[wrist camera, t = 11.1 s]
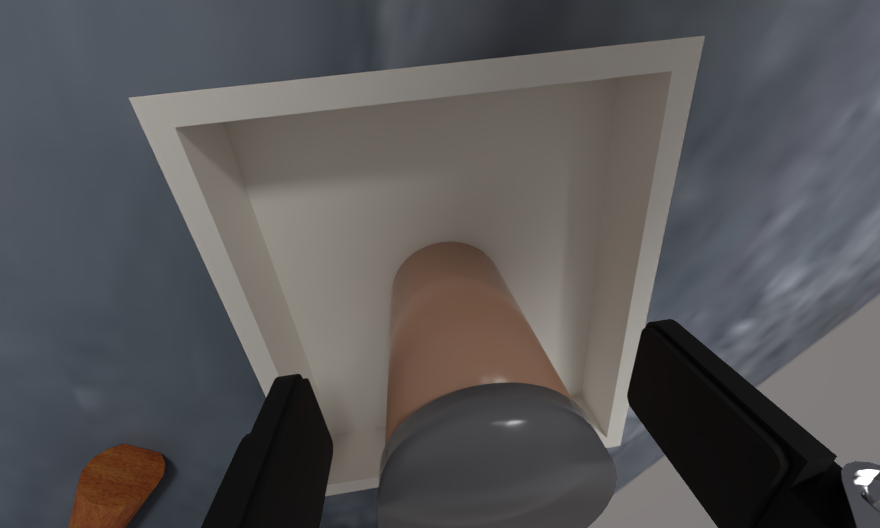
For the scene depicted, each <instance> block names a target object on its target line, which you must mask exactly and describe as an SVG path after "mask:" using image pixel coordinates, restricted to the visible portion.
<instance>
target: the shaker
mask: <svg viewBox="0 0 880 528" xmlns="http://www.w3.org/2000/svg"><path fill="white" fill-rule="evenodd" d="M615 486H616V468H615V465H614V463H613V460H612V458H611V456H610V455H609V453H608V451H607V449H606V448H605V446H604V444H603V443H602V441H601V439H600V438H599V436H598V434H597V432H596V431H595V429H594V427H593V426H592V424H591V422H590V421H589V419H588V417H587V416H586V414H585V413H584V411H583V410H582V409H581V408H580V407H579V406H578V404H577V403H575V402H574V401H573V400H572V398H571V396H570V395H569V393H568V391H567V389H566V388H565V386H564V384H563V382H562V381H561V379H560V377H559V375H558V374H557V372H556V370H555V368H554V367H553V365H552V363H551V361H550V360H549V358H548V356H547V354H546V353H545V351H544V349H543V347H542V346H541V344H540V342H539V340H538V339H537V337H536V335H535V333H534V332H533V330H532V328H531V326H530V325H529V323H528V321H527V320H526V318H525V316H524V314H523V313H522V311H521V309H520V307H519V306H518V304H517V302H516V300H515V299H514V297H513V295H512V293H511V292H510V290H509V288H508V286H507V285H506V283H505V281H504V279H503V278H502V276H501V274H500V272H499V271H498V269H497V267H496V266H495V264H494V262H493V261H492V260H491V259H490V258H489V256H487V255H486V254H485V253H484V252H482V251H481V250H479V249H478V248H476V247H473V246H471V245H468V244H465V243H459V242H441V243H436V244H432V245H429V246H426V247H424V248H422V249H420V250H418V251H417V252H415V253H413V254H412V255H411V256H410V257H409V258H407V259H406V261H405V262H404V263H403V264H402V265H401V267H400V268H399V269H398V271H397V273H396V275H395V278H394V281H393V285H392V298H391V321H390V344H389V367H388V390H387V413H386V436H385V447H384V450H383V452H382V456H381V460H380V470H379V488H378V506H377V522H378V526H379V528H587V527H588V526H590V525H591V524H592V523H593V522H594V521H595V520H596V519H597V518H598V517H599V515H601V513H602V512H603V511H604V509H605V508H606V506H607V505H608V503H609V501H610V499H611V498H612V496H613V492H614V489H615Z"/></svg>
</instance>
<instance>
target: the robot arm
mask: <svg viewBox="0 0 880 528" xmlns="http://www.w3.org/2000/svg"><path fill="white" fill-rule="evenodd" d="M627 399H628V403H629V405H630V407H631V408H632V410H633V411H634V412H635V414H636V415H637V417H638V418H639V419H640V421H641V422H642V423H643V425H644V426H645V428H646V429H647V430H648V432H649V433H650V435H651V436H652V437H653V439H654V440H655V441H656V443H657V444H658V446H659V447H660V448H661V450H662V451H663V452H664V454H665V455H666V457H667V458H668V459H669V461H670V462H671V463H672V465H673V466H674V468H675V469H676V470H677V472H678V473H679V474H680V476H681V477H682V479H683V480H684V481H685V482H686V484H687V485H688V487H689V488H690V490H691V491H692V492H693V494H694V495H695V497H696V498H697V499H698V500H699V502H700V503H701V505H702V506H703V507H704V509H705V510H706V512H707V513H708V514H709V516H710V517H711V519H712V520H713V521H714V523H715V524H716V525H717V527H718V528H880V465H877V464H874V463H870V462H856V461H855V462H852V463H848V464H846V465H845V466H844V467H843V468H842V467H840V466H839V465H838V464H837V463H836V462H834V460H835V458H836V457H837V456H836V455H835V454H834V453H832V452H831V451H830V450H829V449H828V448H826V447H825V446H824V445H823V444H821V443H820V442H819V441H818V440H816V438H814V437H813V436H812V435H811V434H810V433H809V432H807V431H806V430H805V429H804V428H803V427H801V426H800V425H799V424H798V423H797V422H795V421H794V420H793V419H792V418H790V417H789V416H788V415H787V414H786V413H785V412H783V411H782V410H781V409H780V408H779V407H777V406H776V405H775V404H774V403H773V402H772V401H770V400H769V399H768V398H767V397H765V396H764V395H763V394H762V393H761V392H760V391H758V390H757V389H756V388H755V387H754V386H752V385H751V384H750V383H749V382H748V381H746V380H745V379H744V378H743V377H742V376H740V375H739V374H738V373H737V372H736V371H735V370H733V369H732V368H731V367H730V366H729V365H727V364H726V363H725V362H724V361H723V360H721V359H720V358H719V357H718V356H717V355H715V354H714V353H713V352H712V351H711V350H709V349H708V348H707V347H706V346H705V345H704V344H702V343H701V342H700V341H699V340H698V339H696V338H695V337H694V336H693V335H692V334H690V333H689V332H688V331H687V330H686V329H684V328H683V327H682V326H681V325H680V324H678V323H677V322H676V321H674V320H671V319H668V320H661V321H654V322H649V323H648V324H647V325H646V328H644V329H643V330H642V332H641V335H640V340H639V344H638V349H637V353H636V357H635V362H634V366H633V370H632V375H631V379H630V384H629V388H628V392H627ZM332 457H333V441H332V438H331V435H330V433H329V430H328V428H327V425H326V422H325V420H324V417H323V415H322V412H321V409H320V407H319V404H318V402H317V399H316V396H315V394H314V391H313V389H312V386H311V384H310V381H309V379H308V378H304V379H303V378H302V376H301V375H300V374H293V375H286V376H280V377H277V378H275V380H274V381H273V384H272V386H271V388H270V390H269V393H268V395H267V397H266V399H265V402H264V404H263V406H262V408H261V411H260V413H259V415H258V417H257V420H256V422H255V424H254V426H253V429H252V431H251V433H250V434H247V435H246V436H245V437H244V438H243V439H242V441H241V442H240V444H239V446H238V448H237V450H236V452H235V455H234V457H233V459H232V461H231V463H230V465H229V468H228V470H227V472H226V474H225V476H224V479H223V481H222V483H221V485H220V487H219V489H218V492H217V494H216V496H215V498H214V500H213V502H212V505H211V507H210V509H209V511H208V513H207V515H206V518H205V520H204V522H203V524H202V526H201V528H319V526H320V521H321V515H322V510H323V505H324V500H325V494H326V489H327V484H328V478H329V473H330V468H331V463H332Z"/></svg>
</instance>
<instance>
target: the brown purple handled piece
mask: <svg viewBox="0 0 880 528" xmlns="http://www.w3.org/2000/svg"><path fill="white" fill-rule="evenodd" d="M164 469H165V461H164V459H163V456H162V454H161V453H159V452H155V451H151V450H147V449H143V448H139V447H136V446H132V445H128V444H122V445H119V446H116V447H112V448H109V449H107V450H105V451H104V452H102V453H100V454H99V455H97V456H95V457H94V458H93V459H92V460H91V461H90V462H89V463H88V464H87V465H86V466H85V468H84V469H83V470H82V473H81V476H80V479H79V482H78V486H77V491H76V495H75V500H74V504H73V509H72V514H71V518H70V523H69V527H68V528H126V526H127V525H128V524H129V522H130V521H131V520H132V518H133V517H134V516H135V514H136V513H137V512H138V510H139V509H140V508H141V506H142V505H143V504H144V502H145V501H146V500H147V498H148V497H149V496H150V494H151V493H152V492H153V490H154V489H155V488H156V486H157V485H158V483H159V481H160V480H161V478H162V477H163V475H164Z"/></svg>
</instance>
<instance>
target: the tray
mask: <svg viewBox="0 0 880 528" xmlns="http://www.w3.org/2000/svg"><path fill="white" fill-rule="evenodd" d="M704 39H705V36H696V37H687V38H678V39H669V40H659V41H650V42H641V43H631V44H622V45H613V46H604V47H594V48H585V49H576V50H566V51H557V52H548V53H539V54H529V55H520V56H511V57H501V58H492V59H483V60H474V61H464V62H455V63H446V64H436V65H427V66H418V67H409V68H399V69H390V70H381V71H372V72H362V73H353V74H344V75H334V76H325V77H316V78H307V79H297V80H288V81H279V82H269V83H260V84H251V85H242V86H232V87H223V88H214V89H204V90H195V91H186V92H177V93H167V94H158V95H149V96H139V97H130V98H129V100H130V102H131V104H132V106H133V108H134V111H135V113H136V115H137V117H138V119H139V121H140V124H141V126H142V128H143V130H144V132H145V135H146V137H147V139H148V141H149V143H150V145H151V148H152V150H153V152H154V154H155V156H156V159H157V161H158V163H159V165H160V167H161V169H162V172H163V174H164V176H165V178H166V180H167V183H168V185H169V187H170V189H171V191H172V193H173V196H174V198H175V200H176V202H177V204H178V206H179V209H180V211H181V213H182V215H183V217H184V220H185V222H186V224H187V226H188V228H189V230H190V233H191V235H192V237H193V239H194V241H195V244H196V246H197V248H198V250H199V252H200V254H201V257H202V259H203V261H204V263H205V265H206V268H207V270H208V272H209V274H210V276H211V278H212V281H213V283H214V285H215V287H216V289H217V292H218V294H219V296H220V298H221V300H222V302H223V305H224V307H225V309H226V311H227V313H228V316H229V318H230V320H231V322H232V324H233V326H234V329H235V331H236V333H237V335H238V337H239V339H240V342H241V344H242V346H243V348H244V350H245V353H246V355H247V357H248V359H249V361H250V363H251V366H252V368H253V370H254V372H255V374H256V377H257V379H258V381H259V383H260V385H261V387H262V390H263V392H264V394H265V396H266V397H267V395H268V393H269V390H270V388H271V386H272V384H273V381H274V380H275V378H277V377H280V376H286V375H293V374H300V375H301V376H302V378H303V379H304V378H308V379H309V381H310V384H311V386H312V389H313V391H314V394H315V396H316V399H317V402H318V404H319V407H320V409H321V412H322V415H323V417H324V420H325V422H326V425H327V428H328V430H329V433H330V435H331V438H332V441H333V457H332V463H331V468H330V473H329V478H328V484H327V489H326V494H325V496H331V495H336V494H342V493H348V492H354V491H360V490H365V489H371V488H377V487H379V470H380V460H381V456H382V452H383V450H384V447H385V436H386V413H387V390H388V367H389V344H390V321H391V298H392V285H393V281H394V278H395V275H396V273H397V271H398V269H399V268H400V267H401V265H402V264H403V263H404V262H405V261H406V259H407V258H409V257H410V256H411V255H412V254H413V253H415V252H417V251H418V250H420V249H422V248H424V247H426V246H429V245H432V244H436V243H441V242H459V243H465V244H468V245H471V246H473V247H476V248H478V249H479V250H481V251H482V252H484V253H485V254H486V255H487V256H489V258H490V259H491V260H492V261H493V262H494V264H495V266H496V267H497V269H498V271H499V272H500V274H501V276H502V278H503V279H504V281H505V283H506V285H507V286H508V288H509V290H510V292H511V293H512V295H513V297H514V299H515V300H516V302H517V304H518V306H519V307H520V309H521V311H522V313H523V314H524V316H525V318H526V320H527V321H528V323H529V325H530V326H531V328H532V330H533V332H534V333H535V335H536V337H537V339H538V340H539V342H540V344H541V346H542V347H543V349H544V351H545V353H546V354H547V356H548V358H549V360H550V361H551V363H552V365H553V367H554V368H555V370H556V372H557V374H558V375H559V377H560V379H561V381H562V382H563V384H564V386H565V388H566V389H567V391H568V393H569V395H570V396H571V398H572V400H573V401H574V402H575V403H577V404H578V406H579V407H580V408H581V409H582V410H583V411H584V413H585V414H586V416H587V417H588V419H589V421H590V422H591V424H592V426H593V427H594V429H595V431H596V432H597V434H598V436H599V438H600V439H601V441H602V443H603V444H604V446H605V448H609V447H615V446H620V444H621V439H622V434H623V430H624V425H625V420H626V415H627V410H628V405H629V403H628V399H627V392H628V388H629V384H630V379H631V375H632V370H633V366H634V362H635V357H636V353H637V349H638V344H639V340H640V335H641V332H642V330H643V329H644V328H645V323H646V319H647V314H648V309H649V304H650V299H651V294H652V290H653V285H654V280H655V275H656V270H657V265H658V261H659V256H660V251H661V246H662V241H663V237H664V232H665V227H666V222H667V217H668V212H669V208H670V203H671V198H672V193H673V188H674V183H675V179H676V174H677V169H678V164H679V159H680V154H681V150H682V145H683V140H684V135H685V130H686V125H687V121H688V116H689V111H690V106H691V101H692V96H693V92H694V87H695V82H696V77H697V72H698V68H699V63H700V58H701V53H702V48H703V43H704Z"/></svg>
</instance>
